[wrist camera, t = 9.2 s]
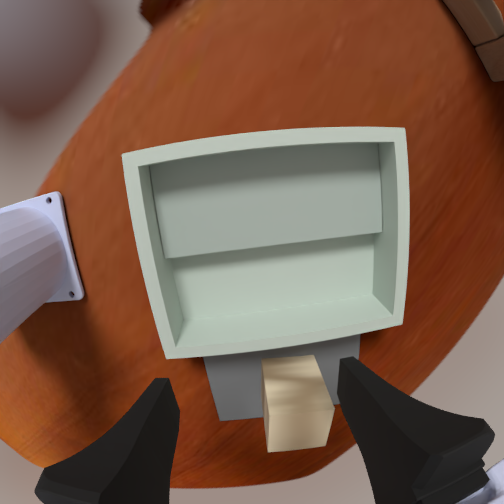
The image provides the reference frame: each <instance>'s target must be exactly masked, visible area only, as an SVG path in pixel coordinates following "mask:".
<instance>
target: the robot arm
mask: <svg viewBox="0 0 504 504" xmlns="http://www.w3.org/2000/svg"><path fill="white" fill-rule="evenodd" d="M49 198H51V199H52V202H51V203H50V202H49ZM71 291H72V292H73V293H74V295H75V296H74V295H72V293H71ZM83 297H84V290H83V286H82V283H81V279H80V276H79V272H78V268H77V265H76V261H75V257H74V253H73V249H72V245H71V240H70V236H69V231H68V226H67V222H66V217H65V211H64V206H63V200H62V196H61V194H60V193H59V192H52V193H48V194H45V195H41V196H38V197H35V198H31V199H28V200H25V201H22V202H19V203H15V204H12V205H9V206H6V207H4V208H0V344H1V343H2V342H3V341H4V340H5V339H6V338H7V337H8V336H9V335H10V334H11V333H12V332H13V331H14V330H15V329H16V328H17V327H18V326H19V325H20V324H22V323H23V322H24V321H25V320H26V319H27V318H28V317H29V316H30V315H31V314H32V313H34V312H35V311H36V310H37V309H38V308H39V307H40V306H41V305H43V304H44V303H45V302H59V301H72V300H80V299H82V298H83ZM337 395H338V399H339V402H340V405H341V409H342V412H343V414H344V416H345V418H346V421H347V423H348V425H349V427H350V429H351V431H352V434H353V436H354V438H355V440H356V442H357V444H358V446H359V449H360V451H361V453H362V456H363V459H364V462H365V465H366V469H367V472H368V476H369V479H370V483H371V486H372V490H373V494H374V499H375V503H376V504H504V459H502V460H501V461H499V462H498V463H496V464H495V465H493V466H492V467H491V468H490V469H488V470H487V471H486V472H485V471H484V469H483V468H482V467H484V465H485V463H484V461H483V460H482V457H483V456H484V454H485V453H486V451H487V450H488V449H489V447H490V445H491V443H492V442H493V440H494V436H495V433H494V431H493V430H492V429H491V428H490V426H489V425H488V424H487V423H486V421H485V420H484V419H481V418H474V417H468V416H462V415H458V414H454V413H450V412H447V411H444V410H440V409H437V408H435V407H432V406H429V405H427V404H425V403H423V402H420V401H418V400H416V399H414V398H412V397H410V396H408V395H407V394H405V393H403V392H402V391H400V390H398V389H397V388H395V387H393V386H392V385H390V384H389V383H387V382H386V381H385V380H383V379H382V378H381V377H379V376H378V375H377V374H375V373H374V372H373V371H371V370H370V369H369V368H368V367H366V366H365V365H364V364H363V363H361V362H360V361H359V360H357V359H356V358H355V357H354V356H351V357H346V358H341V359H340V362H339V374H338V386H337ZM179 418H180V410H179V407H178V404H177V401H176V398H175V395H174V392H173V389H172V386H171V383H170V380H169V378H155V379H154V380H153V381H152V383H151V384H150V385H149V386H148V388H147V389H146V390H145V391H144V393H143V394H142V395H141V396H140V398H139V399H138V400H137V401H136V402H135V404H134V405H133V406H132V407H131V408H130V409H129V411H128V412H127V413H126V414H125V415H124V416H123V417H122V418H121V419H120V420H119V421H118V422H117V423H116V424H115V425H114V426H113V427H112V428H111V429H110V430H109V431H108V432H106V433H105V434H104V435H103V436H102V437H100V438H99V439H98V440H96V441H95V442H93V443H92V444H91V445H89V446H88V447H86V448H85V449H83V450H82V451H80V452H78V453H77V454H75V455H73V456H71V457H69V458H67V459H65V460H63V461H61V462H58V463H56V464H54V465H51V466H49V467H46V468H44V470H43V472H42V474H41V477H40V479H39V481H38V484H37V486H36V488H35V494H36V496H37V497H38V498H39V499H40V500H41V501H42V502H43V503H44V504H169V491H170V475H171V469H172V463H173V458H174V453H175V448H176V442H177V437H178V432H179Z"/></svg>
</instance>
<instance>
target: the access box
mask: <svg viewBox="0 0 504 504" xmlns="http://www.w3.org/2000/svg"><path fill="white" fill-rule="evenodd" d="M122 161H123V169H124V176H125V183H126V189H127V196H128V202H129V208H130V213H131V219H132V224H133V230H134V235H135V240H136V245H137V249H138V254H139V259H140V263H141V268H142V272H143V276H144V280H145V285H146V289H147V293H148V297H149V301H150V304H151V308H152V312H153V316H154V319H155V323H156V326H157V330H158V333H159V337H160V340H161V343H162V347H163V350H164V353H165V356H166V359H173V358H189V357H202V356H214V355H224V354H234V353H243V352H252V351H260V350H267V349H275V348H282V347H289V346H295V345H302V344H308V343H314V342H319V341H325V340H331V339H336V338H341V337H346V336H351V335H356V334H361V333H366V332H370V331H375V330H379V329H384V328H388V327H392V326H396V325H400V324H402V322H403V314H404V306H405V296H406V285H407V272H408V256H409V220H410V209H409V173H408V157H407V144H406V134H405V128H394V127H324V128H302V129H286V130H273V131H261V132H251V133H242V134H233V135H225V136H218V137H210V138H204V139H197V140H191V141H185V142H179V143H173V144H167V145H162V146H157V147H152V148H147V149H142V150H137V151H133V152H128V153H124V154H122Z"/></svg>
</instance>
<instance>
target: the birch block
mask: <svg viewBox="0 0 504 504" xmlns="http://www.w3.org/2000/svg"><path fill="white" fill-rule="evenodd" d="M261 400H262V409H263V417H264V425H265V433H266V441H267V449H268V452H278V451H289V450H298V449H306V448H314V447H321V446H326V442H327V438H328V434H329V430H330V427H331V423H332V418H333V414H334V410H335V408H334V406H333V403H332V400H331V398H330V395H329V393H328V390H327V387H326V385H325V382H324V380H323V377H322V375H321V372H320V369H319V367H318V364H317V362H316V359H315V357H314V355H306V356H294V357H280V358H261Z"/></svg>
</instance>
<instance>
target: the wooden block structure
mask: <svg viewBox="0 0 504 504" xmlns="http://www.w3.org/2000/svg"><path fill="white" fill-rule="evenodd" d="M443 2H444V3H445V4H446V6H447V7H448V8H449V10H450V11H451V12H452V14H453V15H454V17H455V18H456V20H457V21H458V23H459V24H460V26H461V27H462V29H463V30H464V32H465V33H466V35H467V37H468V38H469V40H470V41H471V43H472V44H473V45H474V46H476V47H475V50H476V52H477V54H478V56H479V57H480V59H481V61H482V63H483V65H484V67H485V69H486V70H487V72H488V74H489V76H490V78H491V80H492V81H494V82H498V81H503V80H504V23H503V18H502V14H501V12H500V10H499V8H498V7H497V5H496V4H495V2H494V1H493V0H443Z"/></svg>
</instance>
